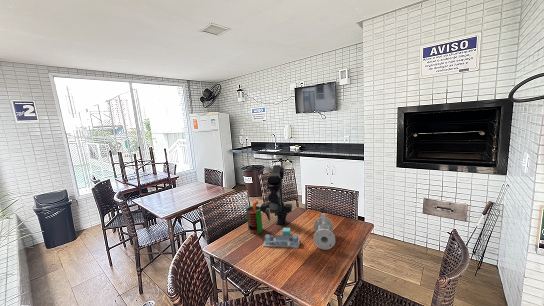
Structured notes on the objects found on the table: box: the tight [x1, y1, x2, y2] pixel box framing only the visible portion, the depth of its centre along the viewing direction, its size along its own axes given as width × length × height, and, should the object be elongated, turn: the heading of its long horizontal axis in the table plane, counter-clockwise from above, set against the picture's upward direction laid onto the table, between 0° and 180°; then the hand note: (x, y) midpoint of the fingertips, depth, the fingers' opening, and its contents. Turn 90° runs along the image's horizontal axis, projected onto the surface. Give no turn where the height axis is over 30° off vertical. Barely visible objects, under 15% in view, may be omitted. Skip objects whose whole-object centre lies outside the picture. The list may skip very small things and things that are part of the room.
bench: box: [262, 234, 301, 249], centre depth 131 cm, size 8×21×5 cm, turn 79°
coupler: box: [281, 227, 292, 236], centre depth 139 cm, size 4×8×4 cm, turn 169°
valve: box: [313, 208, 336, 251], centre depth 132 cm, size 22×12×15 cm, turn 168°
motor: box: [246, 200, 263, 235], centre depth 148 cm, size 10×9×20 cm
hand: (277, 221), depth 132 cm, fingers open, 9 cm apart
